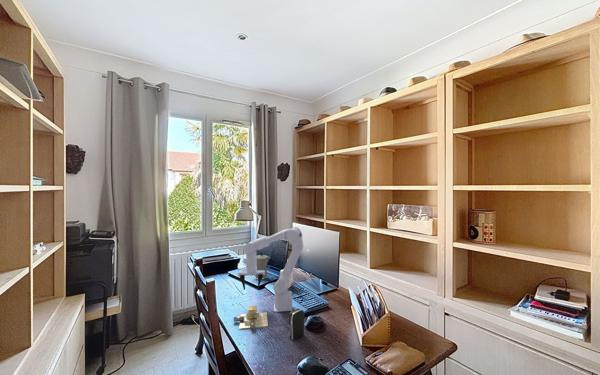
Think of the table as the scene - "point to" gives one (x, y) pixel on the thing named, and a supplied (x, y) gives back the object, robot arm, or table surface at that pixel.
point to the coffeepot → (262, 264)
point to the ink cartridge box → (289, 278)
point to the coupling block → (252, 313)
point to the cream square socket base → (252, 321)
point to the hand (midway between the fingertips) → (251, 288)
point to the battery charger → (296, 323)
